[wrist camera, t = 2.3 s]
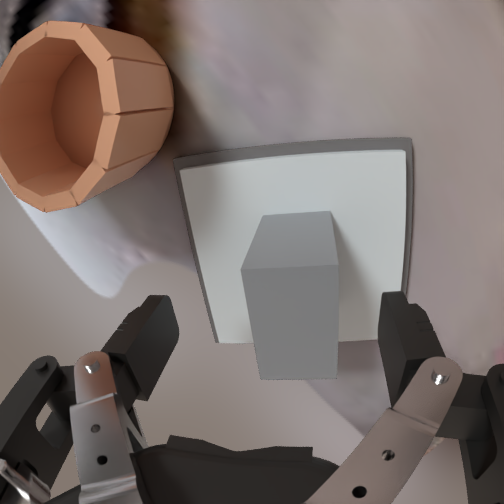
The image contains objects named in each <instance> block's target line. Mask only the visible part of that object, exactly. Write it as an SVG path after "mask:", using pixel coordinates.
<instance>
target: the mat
mask: <svg viewBox="0 0 504 504" xmlns="http://www.w3.org/2000/svg"><path fill="white" fill-rule="evenodd" d="M364 150H403V151H405V153H406V222H405V243H404V258H403V271H402V282H401V291H403V292H404V294H405V296H406V288H407V279H408V269H409V257H410V244H411V226H412V193H413V171H412V139H411V138H359V139H337V140H320V141H307V142H294V143H283V144H273V145H264V146H255V147H246V148H238V149H231V150H223V151H216V152H210V153H203V154H197V155H190V156H184V157H179V158H175V159H173V163H174V168H175V173H176V178H177V183H178V188H179V193H180V197H181V202H182V207H183V211H184V216H185V221H186V225H187V230H188V234H189V238H190V243H191V247H192V251H193V256H194V260H195V264H196V268H197V272H198V276H199V281H200V285H201V289H202V293H203V296H204V300H205V304H206V308H207V312H208V316H209V319H210V323H211V327H212V331H213V334H214V338H215V342H216V343H217V342H218V343H219V340H218V336H217V332H216V328H215V324H214V320H213V316H212V313H211V309H210V305H209V301H208V297H207V293H206V288H205V284H204V280H203V276H202V272H201V268H200V263H199V259H198V255H197V250H196V246H195V242H194V237H193V233H192V228H191V223H190V219H189V214H188V209H187V205H186V200H185V195H184V190H183V185H182V180H181V175H180V170H182V169H183V168H187V167H194V166H200V165H207V164H215V163H222V162H230V161H238V160H246V159H255V158H265V157H275V156H285V155H297V154H310V153H324V152H341V151H364Z"/></svg>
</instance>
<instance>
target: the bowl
mask: <svg viewBox="0 0 504 504" xmlns="http://www.w3.org/2000/svg"><path fill="white" fill-rule="evenodd" d="M173 112H174V88H173V83H172V78H171V75H170V72H169V70H168V67H167V65H166V64H165V62H164V60H163V58H162V57H161V56H160V54H159V53H158V52H157V51H156V50H155V49H154V48H153V47H152V46H151V45H149V44H148V43H146V42H145V40H144V39H143V38H141V37H137V36H134V35H130V34H127V33H123V32H119V31H115V30H111V29H107V28H103V27H99V26H94V25H90V24H85V23H78V22H65V21H46V22H45V23H43V24H42V25H40V26H39V27H37V28H36V29H34V30H33V31H31V32H30V33H28V34H27V35H25V36H24V37H23V38H21V39H20V40H18V41H17V44H14V46H13V48H12V49H11V51H10V53H9V54H8V56H7V58H6V59H5V61H4V63H3V65H2V67H1V68H0V173H1V175H2V176H3V178H4V180H5V181H6V183H7V184H8V186H9V188H10V189H11V191H12V192H13V194H14V195H16V197H17V198H19V199H21V200H22V201H24V202H26V203H28V204H30V205H31V206H33V207H35V208H37V209H39V210H40V211H42V212H51V211H56V210H61V209H65V208H70V207H76V206H78V205H80V204H82V203H83V202H85V201H87V200H89V199H91V198H92V197H94V196H96V195H98V194H100V193H102V192H104V191H105V190H107V189H109V188H111V187H113V186H115V185H117V184H119V183H121V182H123V181H125V180H127V179H129V178H131V177H133V176H134V175H135V174H136V173H137V172H138V171H139V170H140V169H142V168H143V167H144V166H145V165H147V164H148V163H149V162H150V161H151V160H152V159H153V158H154V157H155V155H156V154H157V153H158V151H159V150H160V149H161V147H162V145H163V143H164V141H165V139H166V137H167V135H168V132H169V130H170V126H171V123H172V119H173Z"/></svg>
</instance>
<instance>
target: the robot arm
mask: <svg viewBox="0 0 504 504" xmlns="http://www.w3.org/2000/svg"><path fill="white" fill-rule="evenodd" d="M178 338H179V327H178V324H177V320H176V317H175V313H174V310H173V306H172V302H171V299H170V298H169V296H167V295H150V296H148V297H147V299H146V300H145V301H144V303H143V304H142V305H141V306H140V307H137V308H136V309H135V310H133V311H132V312H130V313H129V314H128V315H127V317H126V318H125V319H124V320H123V322H122V324H120V326H119V327H118V328H117V330H116V331H115V332H114V333H113V335H112V336H111V338H110V339H109V340H108V342H107V343H106V344H105V346H104V347H103V348H102V350H101V351H94V352H90V353H87V354H85V355H84V356H82V357H81V358H79V360H77V362H76V363H75V365H74V366H62V367H60V365H59V363H58V362H57V360H56V358H55V357H53V356H43V357H40V358H38V359H36V360H35V361H34V362H32V363H31V365H30V366H29V367H28V368H27V370H26V371H25V372H24V373H23V375H22V376H21V377H20V379H19V380H18V381H17V383H16V384H15V385H14V387H13V388H12V389H11V391H10V392H9V394H8V395H7V396H6V398H5V399H4V401H3V402H2V403H1V405H0V504H391V503H392V502H393V501H394V499H395V498H396V496H397V495H398V494H399V492H400V491H401V489H402V488H403V486H404V485H405V483H406V482H407V481H408V479H409V478H410V476H411V474H412V473H413V471H414V470H415V468H416V467H417V465H418V463H419V462H420V460H421V459H422V457H423V455H424V454H425V452H426V450H427V449H428V447H429V445H430V443H431V442H432V440H433V438H434V436H436V437H444V438H453V439H459V444H460V450H461V455H462V460H463V467H464V472H465V479H466V486H467V495H468V503H469V504H504V364H498V365H495V366H493V367H492V368H491V369H490V370H489V371H488V373H487V375H486V376H481V375H472V374H466V373H462V370H461V368H460V366H459V365H458V364H457V363H456V362H455V361H453V360H451V359H449V358H446V356H445V354H444V352H443V349H442V347H441V345H440V342H439V340H438V338H437V335H436V333H435V331H433V327H432V324H431V323H430V320H429V318H428V316H427V314H426V311H424V310H423V309H422V308H421V307H420V306H419V305H417V304H409V303H408V301H407V299H406V296H405V294H404V292H403V291H391V292H383V293H382V296H381V305H380V313H379V321H378V344H379V348H380V353H381V357H382V362H383V366H384V371H385V376H386V381H387V386H388V391H389V397H390V402H391V408H390V407H389V408H388V409H386V411H385V412H384V413H383V414H382V416H381V417H380V418H379V420H378V421H377V422H376V424H375V425H374V426H373V427H372V429H371V430H370V431H369V433H368V434H367V435H366V436H365V438H364V439H363V440H362V441H361V442H360V444H359V445H358V446H357V447H356V448H355V450H354V451H353V452H352V453H351V455H349V457H348V458H347V459H346V460H345V461H344V462H343V464H342V465H341V466H338V465H336V464H334V463H332V462H330V461H327V460H324V459H321V458H317V457H313V456H312V450H313V447H281V446H279V447H278V446H275V447H269V448H262V449H255V450H247V451H232V450H229V449H226V448H223V447H220V446H217V445H215V444H212V443H208V442H206V441H204V440H199V439H192V438H186V437H179V436H174V435H170V437H169V439H168V442H167V444H162V445H155V446H152V447H149V446H148V444H147V442H146V439H145V436H144V433H143V430H142V427H141V424H140V421H139V418H138V415H137V412H136V409H135V407H134V405H133V403H134V401H135V400H136V399H138V400H144V401H148V399H149V397H150V395H151V393H152V391H153V389H154V387H155V385H156V383H157V381H158V379H159V377H160V375H161V373H162V371H163V369H164V367H165V365H166V363H167V362H168V360H169V358H170V355H171V354H172V352H173V350H174V348H175V346H176V344H177V342H178ZM46 403H47V405H48V406H49V407H50V408H51V410H52V412H51V414H50V415H49V417H48V419H47V420H46V422H45V424H44V425H43V427H42V429H41V430H40V432H39V431H38V429H37V427H36V418H37V416H38V414H39V413H40V411H41V410H42V408H43V406H44V405H45V404H46ZM73 443H74V450H75V457H76V463H77V469H78V474H79V480H80V485H78V486H76V487H74V488H72V489H70V490H68V491H67V492H64V493H63V494H61V495H59V496H57V497H55V498H53V499H50V497H51V494H50V490H51V488H52V486H53V484H54V481H55V479H56V477H57V475H58V473H59V471H60V469H61V467H62V465H63V463H64V461H65V459H66V457H67V455H68V453H69V451H70V449H71V447H72V445H73Z"/></svg>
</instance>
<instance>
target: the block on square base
mask: <svg viewBox="0 0 504 504" xmlns="http://www.w3.org/2000/svg"><path fill="white" fill-rule="evenodd" d="M180 175H181V180H182V185H183V190H184V195H185V200H186V205H187V209H188V214H189V219H190V223H191V228H192V233H193V237H194V242H195V246H196V250H197V255H198V259H199V263H200V268H201V272H202V276H203V280H204V284H205V288H206V293H207V297H208V301H209V305H210V309H211V313H212V316H213V320H214V324H215V328H216V332H217V336H218V340H219V343H243V344H246V343H247V344H254V347H255V352H256V358H257V363H258V368H259V374H260V379H266V380H267V379H268V380H275V379H276V380H307V379H337V365H338V342H344V341H361V340H376V339H378V321H379V313H380V305H381V296H382V293H383V292H391V291H401V282H402V271H403V258H404V243H405V222H406V153H405V151H403V150H364V151H341V152H324V153H310V154H297V155H285V156H275V157H265V158H255V159H246V160H238V161H230V162H222V163H215V164H207V165H200V166H194V167H187V168H183V169H182V170H180Z"/></svg>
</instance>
